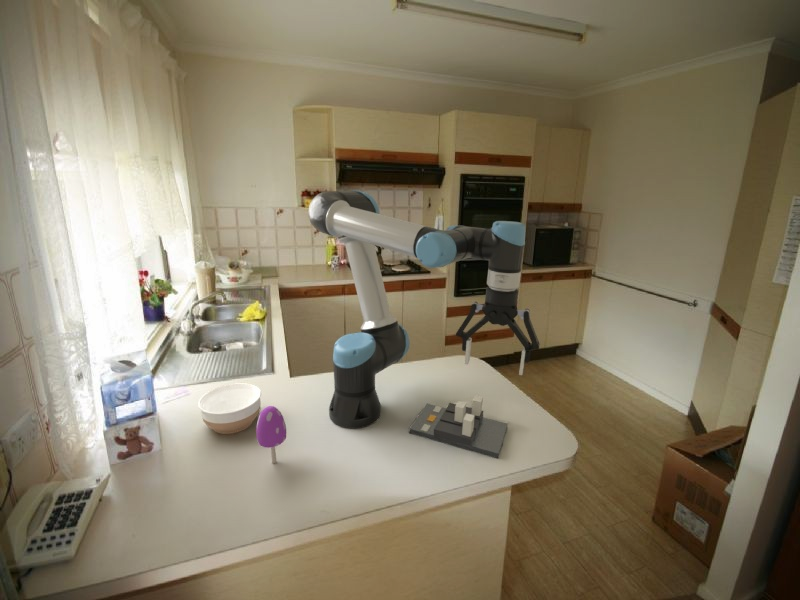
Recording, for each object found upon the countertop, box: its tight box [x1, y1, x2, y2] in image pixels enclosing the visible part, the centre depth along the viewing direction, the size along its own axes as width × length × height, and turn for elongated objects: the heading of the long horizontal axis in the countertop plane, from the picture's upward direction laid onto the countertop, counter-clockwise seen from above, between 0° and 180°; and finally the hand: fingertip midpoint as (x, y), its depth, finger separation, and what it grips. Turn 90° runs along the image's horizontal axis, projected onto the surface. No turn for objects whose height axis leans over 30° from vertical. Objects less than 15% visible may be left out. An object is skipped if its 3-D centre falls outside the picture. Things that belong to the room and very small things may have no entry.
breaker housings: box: [434, 394, 484, 446], centre depth 106 cm, size 10×14×7 cm
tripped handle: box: [454, 400, 467, 423], centre depth 106 cm, size 2×3×4 cm
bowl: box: [197, 382, 262, 435], centre depth 108 cm, size 16×16×8 cm
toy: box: [255, 405, 287, 464], centre depth 92 cm, size 7×7×15 cm
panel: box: [408, 403, 509, 459], centre depth 107 cm, size 24×14×2 cm, turn 66°
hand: (493, 367), depth 99 cm, fingers open, 13 cm apart
